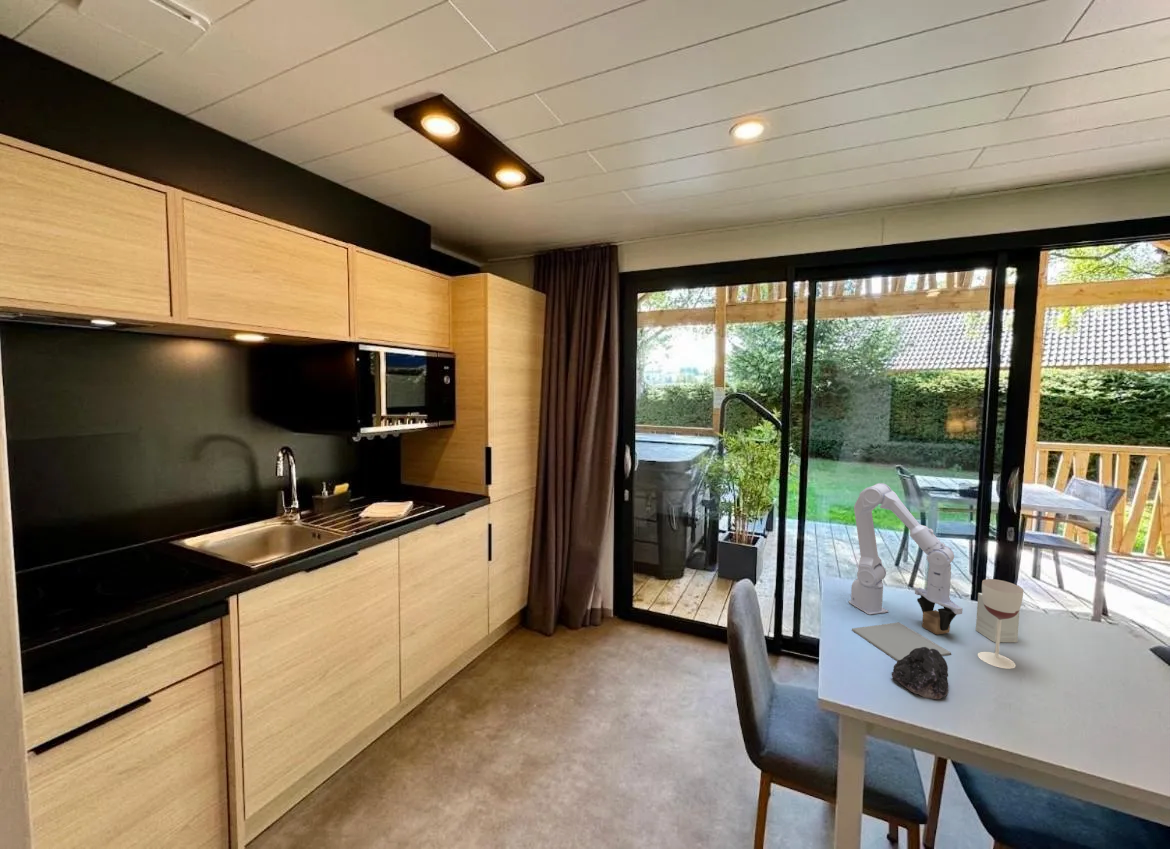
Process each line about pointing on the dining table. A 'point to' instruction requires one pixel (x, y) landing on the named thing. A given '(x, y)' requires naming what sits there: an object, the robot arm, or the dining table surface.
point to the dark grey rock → (923, 673)
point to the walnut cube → (933, 622)
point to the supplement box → (995, 624)
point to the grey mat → (896, 639)
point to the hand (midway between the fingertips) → (935, 625)
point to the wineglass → (1000, 614)
